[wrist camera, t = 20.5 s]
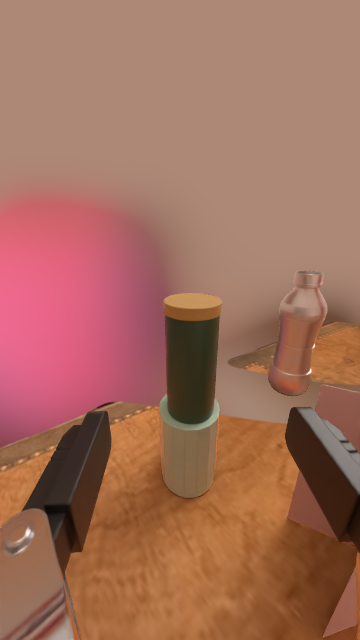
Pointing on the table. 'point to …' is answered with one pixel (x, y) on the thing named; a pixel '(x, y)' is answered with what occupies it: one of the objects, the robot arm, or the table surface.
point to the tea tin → (191, 355)
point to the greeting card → (356, 424)
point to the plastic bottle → (298, 334)
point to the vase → (188, 452)
